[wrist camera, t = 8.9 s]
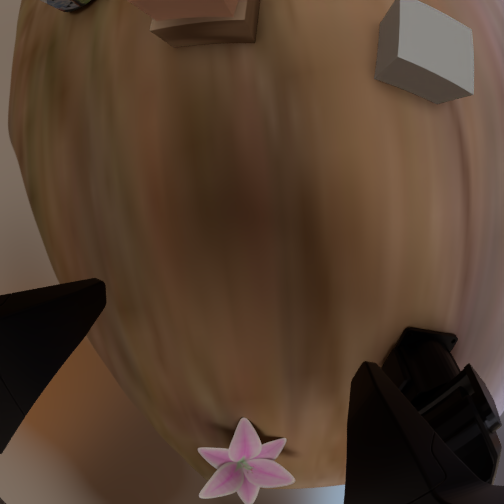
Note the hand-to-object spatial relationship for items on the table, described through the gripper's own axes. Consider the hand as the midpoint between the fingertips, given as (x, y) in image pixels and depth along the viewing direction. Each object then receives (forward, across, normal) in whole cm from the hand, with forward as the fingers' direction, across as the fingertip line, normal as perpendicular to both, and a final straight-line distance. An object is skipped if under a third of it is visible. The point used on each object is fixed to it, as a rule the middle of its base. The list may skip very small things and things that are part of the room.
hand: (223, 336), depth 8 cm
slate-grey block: (+12, -7, -15) cm, 20 cm away
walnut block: (+12, +7, -16) cm, 21 cm away
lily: (+12, -5, +27) cm, 30 cm away
